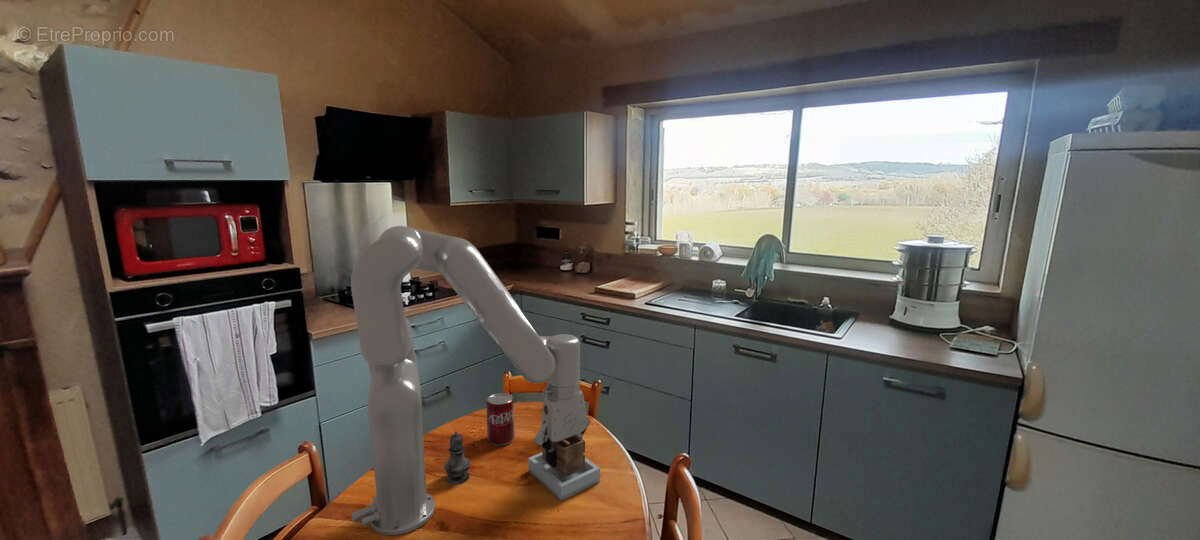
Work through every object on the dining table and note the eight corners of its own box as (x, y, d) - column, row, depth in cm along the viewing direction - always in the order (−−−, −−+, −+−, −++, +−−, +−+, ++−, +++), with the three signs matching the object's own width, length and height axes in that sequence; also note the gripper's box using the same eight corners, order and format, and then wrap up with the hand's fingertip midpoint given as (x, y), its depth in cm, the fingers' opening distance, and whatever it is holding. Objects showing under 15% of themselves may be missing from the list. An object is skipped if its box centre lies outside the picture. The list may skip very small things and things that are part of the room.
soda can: (485, 435, 130) (483, 395, 128) (510, 430, 133) (510, 390, 131) (490, 449, 123) (489, 406, 121) (517, 443, 126) (516, 401, 124)
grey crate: (561, 501, 104) (561, 486, 103) (528, 471, 114) (528, 457, 114) (599, 481, 110) (600, 468, 110) (565, 455, 121) (565, 442, 120)
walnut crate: (563, 478, 106) (563, 449, 105) (542, 459, 113) (542, 433, 112) (584, 468, 110) (585, 441, 109) (562, 451, 117) (562, 425, 116)
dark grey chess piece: (463, 487, 108) (461, 439, 106) (440, 483, 109) (437, 436, 107) (475, 472, 114) (473, 426, 111) (452, 468, 115) (450, 423, 113)
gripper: (540, 404, 100) (540, 481, 103) (602, 384, 111) (601, 454, 114) (522, 392, 106) (523, 465, 109) (583, 374, 117) (582, 440, 120)
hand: (563, 458), depth 111 cm, fingers closed on walnut crate, 6 cm apart
